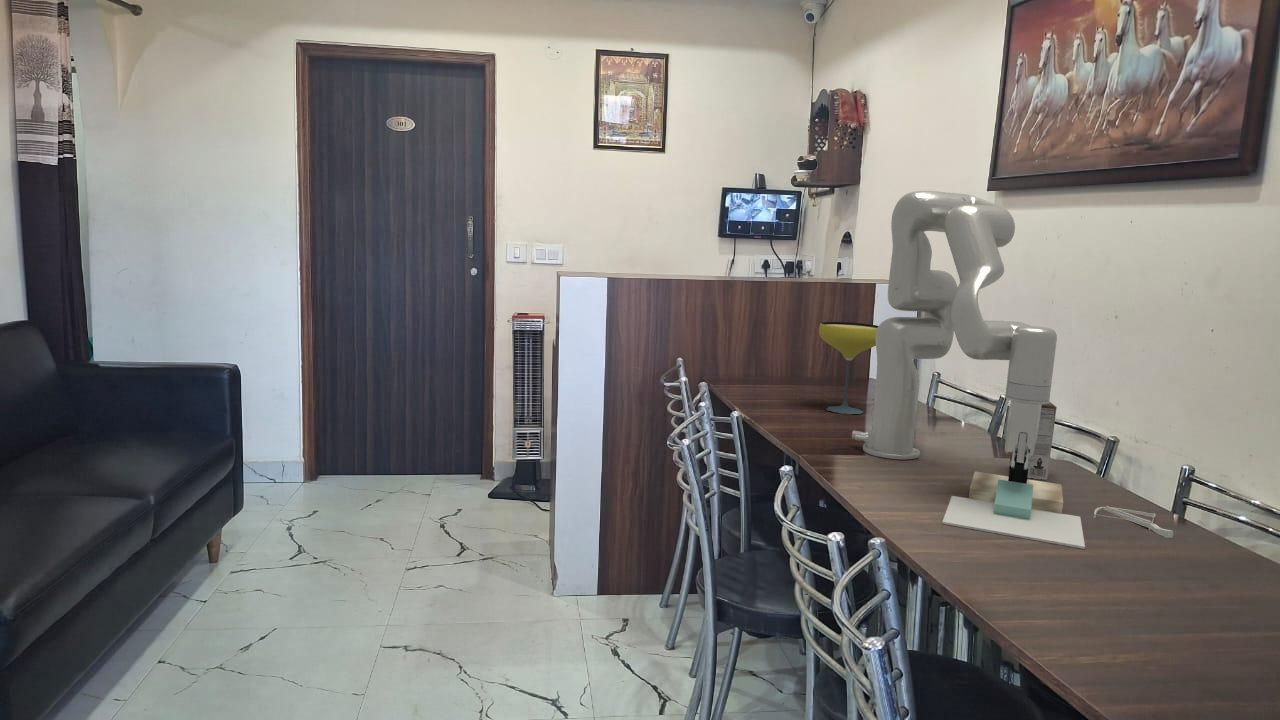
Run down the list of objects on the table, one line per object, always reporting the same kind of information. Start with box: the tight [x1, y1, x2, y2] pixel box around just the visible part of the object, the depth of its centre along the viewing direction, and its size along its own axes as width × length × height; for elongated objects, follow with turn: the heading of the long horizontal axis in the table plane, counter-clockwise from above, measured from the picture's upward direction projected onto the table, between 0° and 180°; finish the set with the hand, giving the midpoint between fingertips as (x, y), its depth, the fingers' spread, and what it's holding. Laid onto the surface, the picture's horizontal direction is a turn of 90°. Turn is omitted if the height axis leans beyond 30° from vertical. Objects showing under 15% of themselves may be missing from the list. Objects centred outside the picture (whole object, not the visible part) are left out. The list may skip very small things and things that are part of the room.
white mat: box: [941, 495, 1086, 550], centre depth 150 cm, size 22×18×1 cm
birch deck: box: [968, 471, 1064, 514], centre depth 165 cm, size 16×14×2 cm
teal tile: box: [994, 479, 1033, 519], centre depth 155 cm, size 6×9×2 cm, turn 155°
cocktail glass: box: [818, 321, 879, 415], centre depth 244 cm, size 18×18×25 cm
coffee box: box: [1008, 401, 1057, 481], centre depth 184 cm, size 9×6×16 cm
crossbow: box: [1093, 505, 1174, 539], centre depth 154 cm, size 16×13×2 cm
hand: (1016, 488), depth 160 cm, fingers closed
